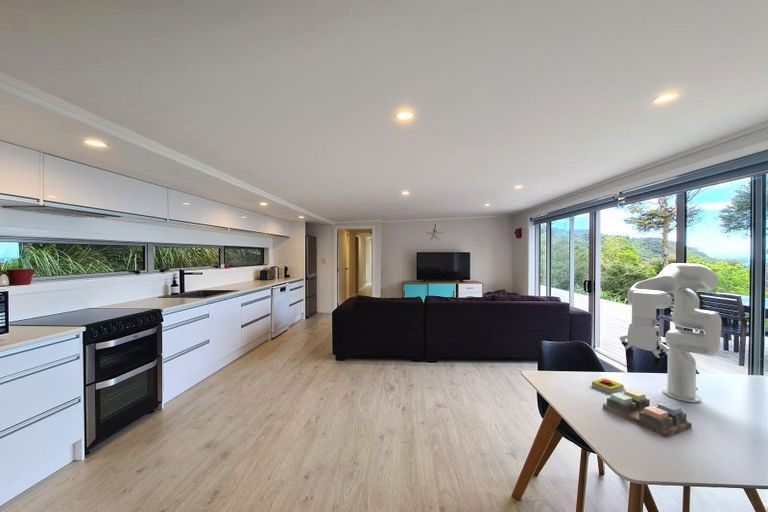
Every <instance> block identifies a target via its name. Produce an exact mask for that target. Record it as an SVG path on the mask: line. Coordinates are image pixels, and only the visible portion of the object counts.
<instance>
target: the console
mask: <svg viewBox="0 0 768 512" xmlns="http://www.w3.org/2000/svg"><path fill="white" fill-rule="evenodd" d="M650 402H651V401H650V399H649V398H646V397H645V400H642V401H636V400H634V399H632V403H631V404H628V405H623V404H620V403H618V402H616V401H613V400H611V396H610V397H606V402H605V403H602V409H604V410H606V411H608V412H610V413H612V414H614V415H617V416H619V417H621V418H623V419H625V420H627V421H629V422H631V423H634V424H636V425H638V426H640V427H643V428H644V429H647V430H648V429H649V431H650V432H652V433H653V432H654V433H655V434H657V435H660V436H662V437H664V438H668V437H672V436H674V435H677V434H679V433H683V432H685V431H687V430H689V429H692V425H693V424H692V422H690V421H687V413H686V412H683V411H682V414H680V415H677V416H673V415H671V414H668V419H665V420H662V421H660V420H658V419H656V418H653V417H651V416H649V415H646V414H644V408H645V407H649V406H651V405H650V404H651V403H650ZM656 407H657V408H658V406H656Z"/></svg>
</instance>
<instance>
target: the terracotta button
mask: <svg viewBox="0 0 768 512" xmlns="http://www.w3.org/2000/svg"><path fill="white" fill-rule="evenodd" d="M657 407H658V406H654V405H650V406H649V407H645V408H644V414H646V415H649V416H651V417H653V418H656V419H658V420H660V421H662V420H665V419H668V412H667V411H664V410H662V409H659V408H657Z"/></svg>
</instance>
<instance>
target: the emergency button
mask: <svg viewBox="0 0 768 512" xmlns="http://www.w3.org/2000/svg"><path fill="white" fill-rule="evenodd" d="M589 388H590V389H593V390H594V391H598V392H600V393H603V394H605V395H608V396H611V394H614V393H618V392H619V393H621V392H624V391H626V390H627V389H626V388H624V384H623V383H620V382H617V381H615V380H614V381H613V380H612V379H608V378H606V377H605V378H600V379H596V380H592V381H591V386H590V387H589Z"/></svg>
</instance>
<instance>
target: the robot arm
mask: <svg viewBox="0 0 768 512" xmlns="http://www.w3.org/2000/svg"><path fill="white" fill-rule="evenodd" d="M718 286H719V277H718V275H717V273H716V272H714V270H712V269H710V268H709V267H708V266H705V265H703V264H699V263H670V264H667V266H665V267H664V268H663V269H662V270H661V271H660V272H659V274H658V275H657V276H654V277H651V278H646V279H644V280H641V281H638V282H636V283H635V284H633V285H632V286H631V287H630V288H629V290H628V291H627V293H626V300H627V303H629V304H630V305H631V322H630V323H629V324H628V329H627V334H626V335H623V336H619V340H620V342H621V344H622V345H623V347H624V349H625V356H626V359H627V360H631V359H634V349H633V348H638V349H641V350H644V351H649V352H652V353H653V355H654V357H653V366H654V368H660V367H661V366H662V363H663V362H662V361H663V358H664V357H666V356H667V376H666V377H667V384H666V386H667V387H665V388H663V389H662V392H663V394H664V395H666V396H667V397H670V398H672V399H675V400H679V401H682V402H686V403H693V404H695V403H700V402H701V397H700V396H698V395H697V392H696V391H699V388H698V386H697V361H696V359H695V358H694V356H693V355H692V354H695V355H699V356H700V355H701V356H706V357H715V356H717V355H718V354H719V352H720V346H721V345H720V344H721V338H722V337H721V335H722V323H723V322H722V321H723V320H722V318H721V315H720V314H719V313H718V312H715V311H711V310H705V309H700V302H701V299H700V298H699V296H698V295H697V294H696V292H695V291H693V290H699V291H713V290H715V289H717V288H718ZM669 293H670V294H671V293H672V294H673V297H674V301H673V299H672V296H671V295H670V294H669ZM672 301H673V310H672V315H671V317H672V323H673V324H674V325H675V326H677V327H679V328H685V329H691V330H696V331H702V332H704V333H700V332H694V331H689V330H685V329H684V330H682V329H677V328H676V329H675V328H674V329H669V330H668V331H666V333H665V336H664V337H665V339H664V340H665V343H666V345H665V344H664V343H662V336H661V331H660V328H659V326H657V325H660V324H661V321H660V320H658V319H657V309H659V310H663V309H667V308H669V307H670V306H671V305H672ZM661 350H662V351H661Z"/></svg>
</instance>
